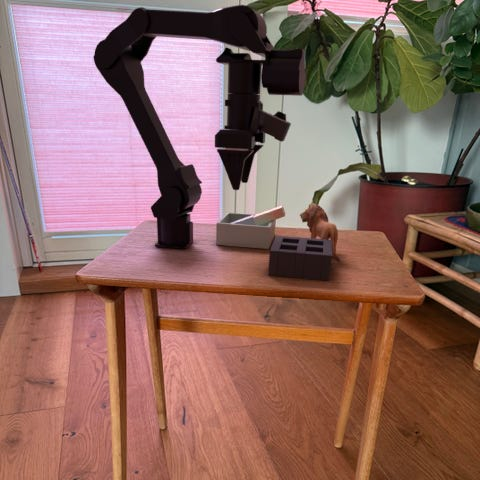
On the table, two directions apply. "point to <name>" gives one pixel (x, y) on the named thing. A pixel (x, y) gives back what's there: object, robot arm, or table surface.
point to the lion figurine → (320, 226)
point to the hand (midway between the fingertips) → (240, 186)
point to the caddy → (300, 258)
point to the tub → (244, 232)
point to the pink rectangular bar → (262, 217)
